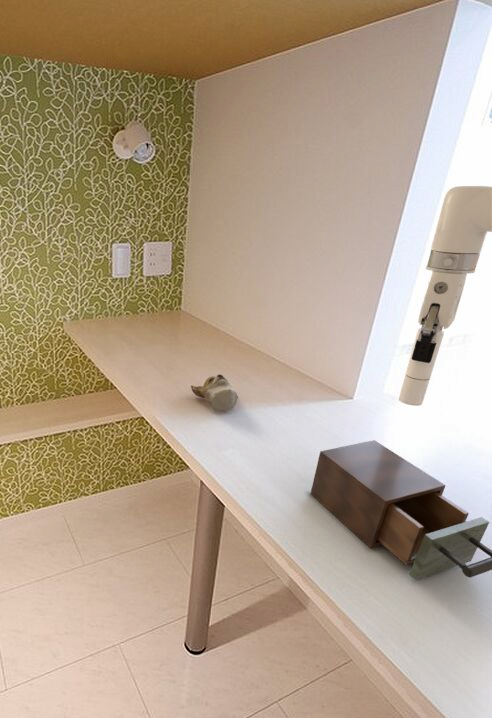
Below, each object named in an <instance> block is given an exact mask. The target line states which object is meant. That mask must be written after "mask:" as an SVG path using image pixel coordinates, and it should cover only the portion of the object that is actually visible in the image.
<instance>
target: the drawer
mask: <svg viewBox="0 0 492 718" xmlns="http://www.w3.org/2000/svg"><path fill="white" fill-rule="evenodd" d="M469 514H470V513H469V511H466V510H465V509H463V508H462V507H461V506H459V505H457V504H456V503H454V502H453V501H452V500H450V499H449V498H447V497H446V496H443V494H442V495H441V494H439V493H438V492H432V493H428V494H425V495H421V496H417V497H413V498H410V499H406V500H402V501H399V502H395V503H391V504H388V507H387V510H386V513H385V516H384V519H383V522H382V525H381V528H380V531H379V534H378V537H377V540H378V541H379V542H380V543H381V544H382V545H381V546H383V547H384V548H386V549H387V550H388V551H389V552H390V553H391V554H392V555H394V556H395V557H396V558H397V559H398V560H400V561H401V562H402V563H403V564H404V565H406V566H407V565H410V564H412V567H411V568H410V571H409V576H410V577H412V578H413V580H415V581H419V580H421V579H424V578H427V577H430V576H433V575H436V574H438V573H441V572H444V571H447V570H449V569H450V570H451V569H453V568H455V567H459V568H460V569H461V571H462V573H463V575H464V576H465V577H467V578H473V577H476V576H479V575H482V574H484V573H487V572H490V571H492V549H490V548H489V547H487V546H486V545H485V544H483V543H482V542H481V541H482V539H483V537H484V535H485V532H486V530H487V528H488V526H489V524H490V521H489V520H487V519H485V518H484V517H482V516H480V517H477V518H474V519H471V520H468V521H466V520H467V519H468V516H469ZM478 549H479V550H481V551H482V552H484V553H485V554H486V555H488V556H489V557H488V558H485V559H482V560H479V561H477V562H474V563H471V564H468V565H467V563H470V562H472V560H473V558H474V555H476V552H477V550H478Z"/></svg>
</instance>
